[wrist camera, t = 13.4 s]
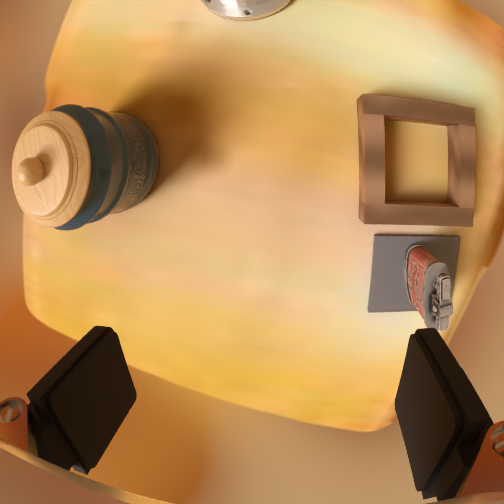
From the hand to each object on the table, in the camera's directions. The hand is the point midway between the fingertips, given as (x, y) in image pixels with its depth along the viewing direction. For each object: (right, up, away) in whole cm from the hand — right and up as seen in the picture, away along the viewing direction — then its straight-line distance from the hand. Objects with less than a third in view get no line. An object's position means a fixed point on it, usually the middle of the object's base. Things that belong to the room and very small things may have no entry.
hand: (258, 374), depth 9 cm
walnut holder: (+19, +14, +24) cm, 34 cm away
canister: (-18, +15, +29) cm, 37 cm away
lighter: (+20, +1, +27) cm, 34 cm away
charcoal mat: (+20, +1, +28) cm, 34 cm away
